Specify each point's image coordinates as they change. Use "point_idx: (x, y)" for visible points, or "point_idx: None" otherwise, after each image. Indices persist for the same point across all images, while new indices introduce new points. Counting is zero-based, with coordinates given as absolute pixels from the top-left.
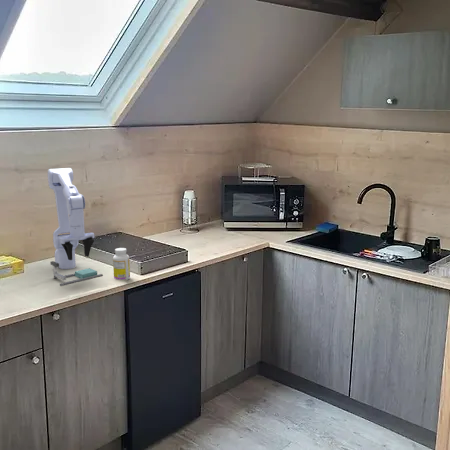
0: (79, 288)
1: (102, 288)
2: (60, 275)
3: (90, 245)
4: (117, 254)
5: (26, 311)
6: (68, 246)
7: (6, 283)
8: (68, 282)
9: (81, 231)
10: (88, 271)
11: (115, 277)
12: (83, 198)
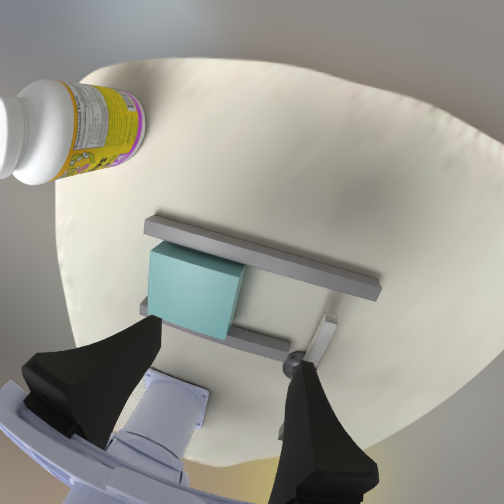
0: (342, 197)
1: (274, 90)
2: (320, 351)
3: (87, 355)
4: (30, 125)
5: None
6: (373, 465)
7: (387, 434)
8: (342, 278)
9: None
10: (181, 286)
11: (139, 128)
12: None
